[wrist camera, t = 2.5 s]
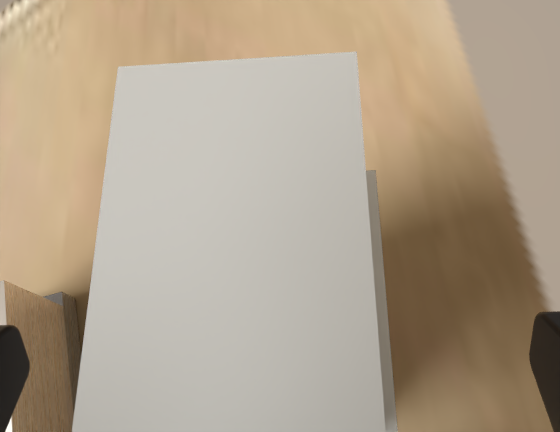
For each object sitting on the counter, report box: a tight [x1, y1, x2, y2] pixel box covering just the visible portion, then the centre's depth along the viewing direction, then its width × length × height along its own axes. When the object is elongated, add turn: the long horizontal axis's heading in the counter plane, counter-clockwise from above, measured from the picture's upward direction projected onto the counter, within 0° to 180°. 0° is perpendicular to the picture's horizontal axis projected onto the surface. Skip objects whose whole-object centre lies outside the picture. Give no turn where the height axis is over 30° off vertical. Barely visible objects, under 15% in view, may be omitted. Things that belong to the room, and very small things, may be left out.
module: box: [72, 52, 398, 432], centre depth 11 cm, size 5×4×12 cm
